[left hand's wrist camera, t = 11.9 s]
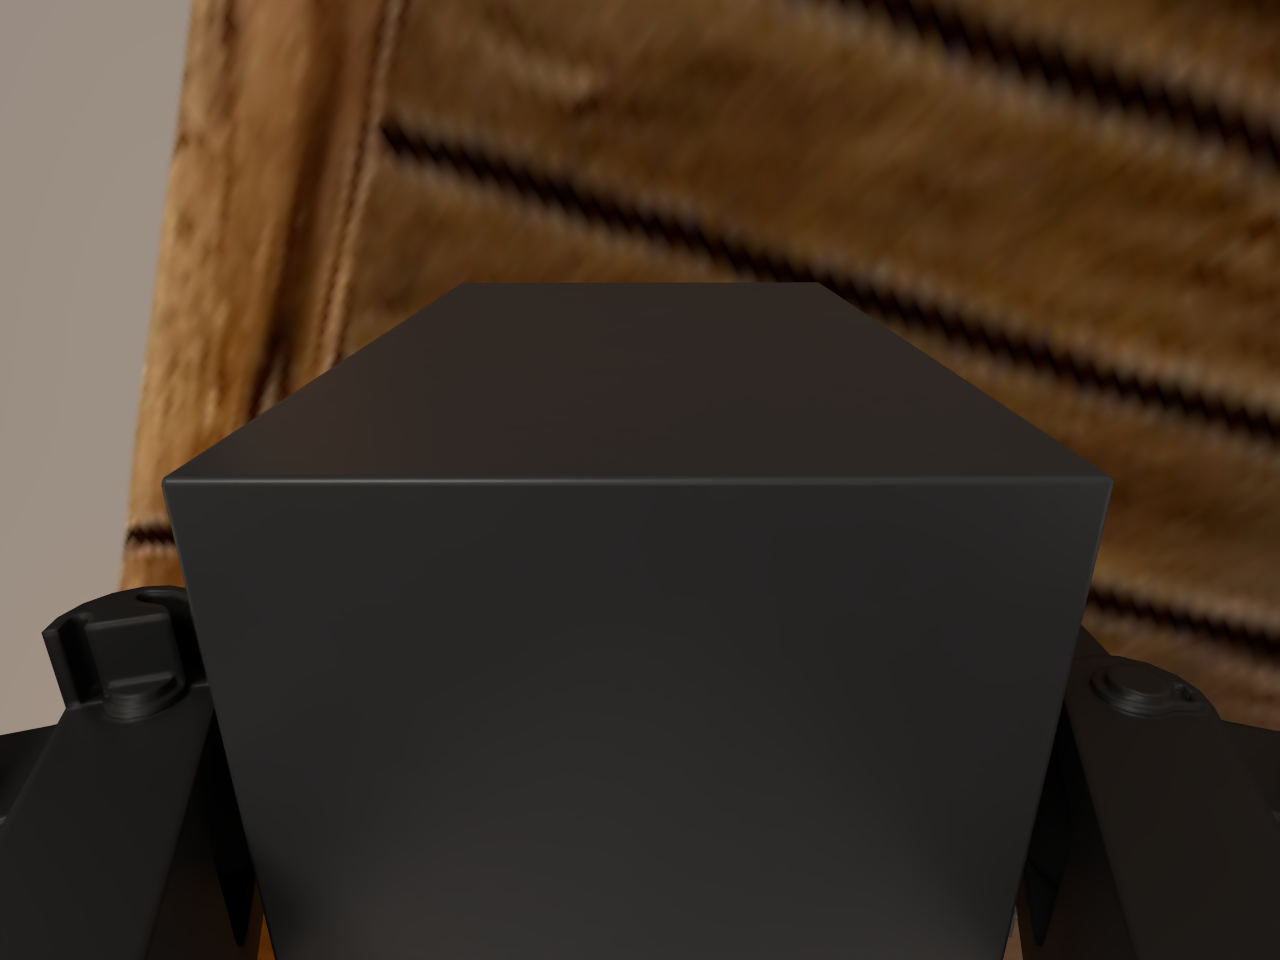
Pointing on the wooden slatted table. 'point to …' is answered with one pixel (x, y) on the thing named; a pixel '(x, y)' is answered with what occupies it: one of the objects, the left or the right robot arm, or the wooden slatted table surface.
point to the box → (638, 633)
